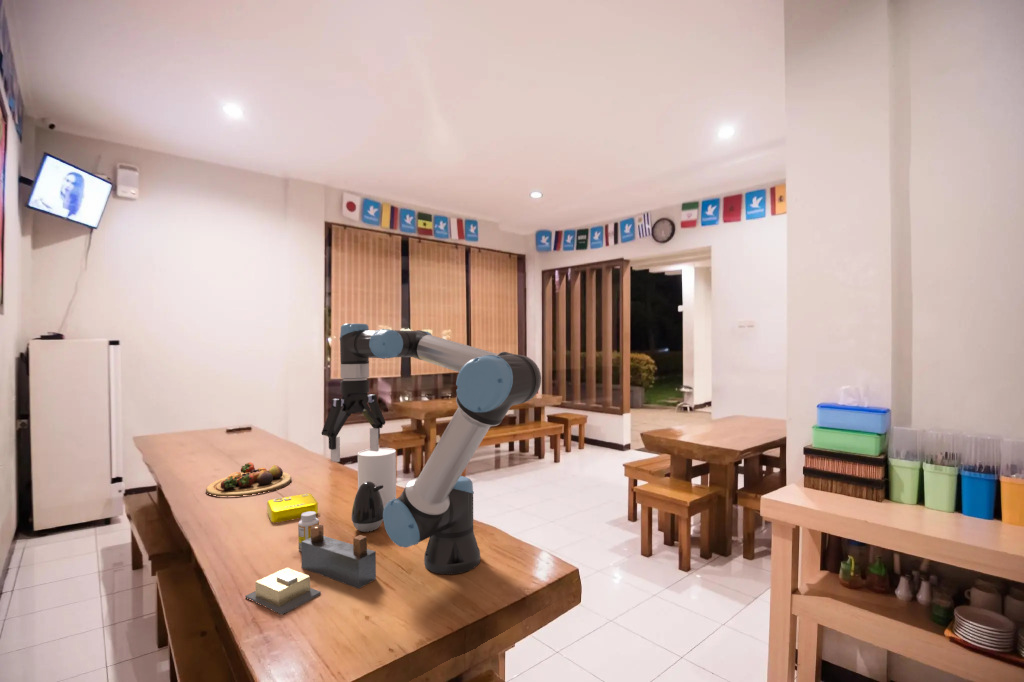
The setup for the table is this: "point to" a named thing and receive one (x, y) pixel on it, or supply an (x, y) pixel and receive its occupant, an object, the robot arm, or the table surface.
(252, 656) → the table surface
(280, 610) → the rubber mat
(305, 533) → the supplement bottle
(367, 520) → the pump dispenser
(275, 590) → the lever cap
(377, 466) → the canister
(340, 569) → the plane body
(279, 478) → the wooden plate with food
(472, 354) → the robot arm
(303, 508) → the element tile
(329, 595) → the table surface
